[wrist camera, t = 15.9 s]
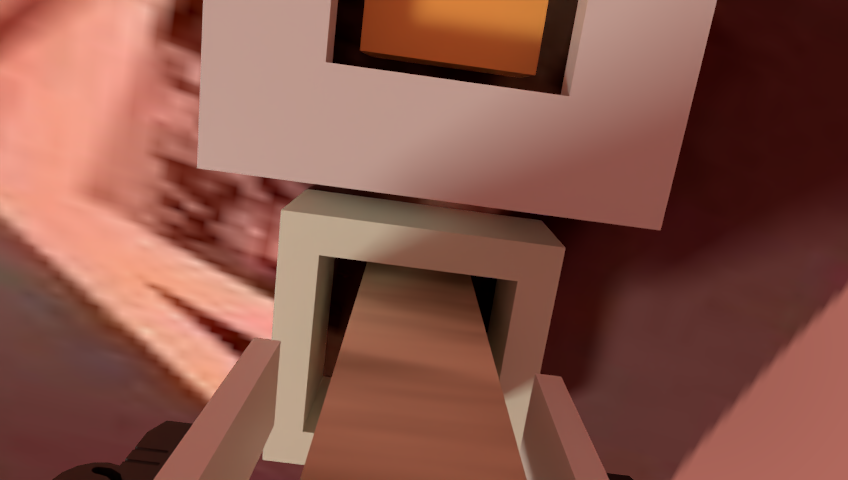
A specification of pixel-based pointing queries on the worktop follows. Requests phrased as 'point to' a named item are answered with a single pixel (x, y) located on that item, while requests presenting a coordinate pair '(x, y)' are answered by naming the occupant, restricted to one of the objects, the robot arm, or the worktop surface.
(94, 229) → the worktop surface
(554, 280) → the cream square open box
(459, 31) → the button
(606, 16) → the white box with opening
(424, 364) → the wooden square peg
